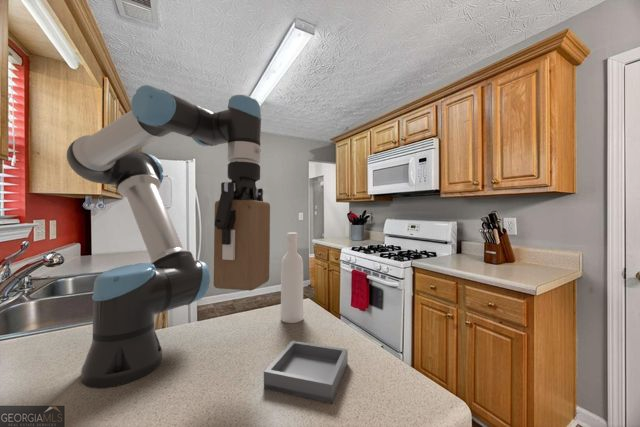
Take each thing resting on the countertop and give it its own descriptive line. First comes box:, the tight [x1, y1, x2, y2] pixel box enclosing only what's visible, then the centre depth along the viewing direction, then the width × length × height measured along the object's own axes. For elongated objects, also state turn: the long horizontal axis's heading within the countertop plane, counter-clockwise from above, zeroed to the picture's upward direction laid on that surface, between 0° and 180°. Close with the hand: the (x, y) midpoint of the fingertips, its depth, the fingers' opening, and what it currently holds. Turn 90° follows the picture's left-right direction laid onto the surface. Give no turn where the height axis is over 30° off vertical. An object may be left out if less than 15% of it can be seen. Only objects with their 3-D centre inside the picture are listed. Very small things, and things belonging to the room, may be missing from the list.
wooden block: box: [213, 200, 271, 292], centre depth 64 cm, size 10×10×20 cm
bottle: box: [280, 232, 304, 324], centre depth 93 cm, size 8×8×30 cm
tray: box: [263, 340, 349, 404], centre depth 59 cm, size 14×14×4 cm
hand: (243, 256), depth 63 cm, fingers closed on wooden block, 10 cm apart
